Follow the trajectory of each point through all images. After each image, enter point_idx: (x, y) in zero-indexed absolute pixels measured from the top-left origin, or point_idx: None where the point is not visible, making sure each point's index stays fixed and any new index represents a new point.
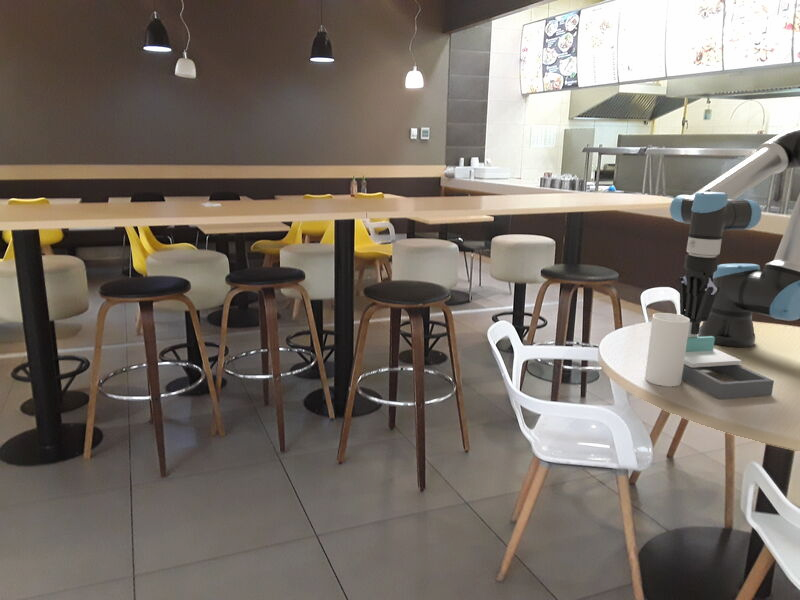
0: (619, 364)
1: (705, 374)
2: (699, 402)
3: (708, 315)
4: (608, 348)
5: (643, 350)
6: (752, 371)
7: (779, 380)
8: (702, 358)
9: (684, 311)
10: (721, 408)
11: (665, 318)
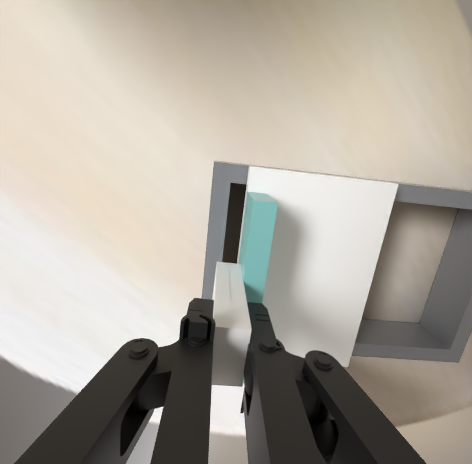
0: None
1: (390, 350)
2: (415, 382)
3: (363, 395)
4: (20, 355)
5: (50, 267)
6: (442, 193)
7: (423, 42)
8: (324, 303)
9: (147, 412)
10: (458, 363)
11: None
